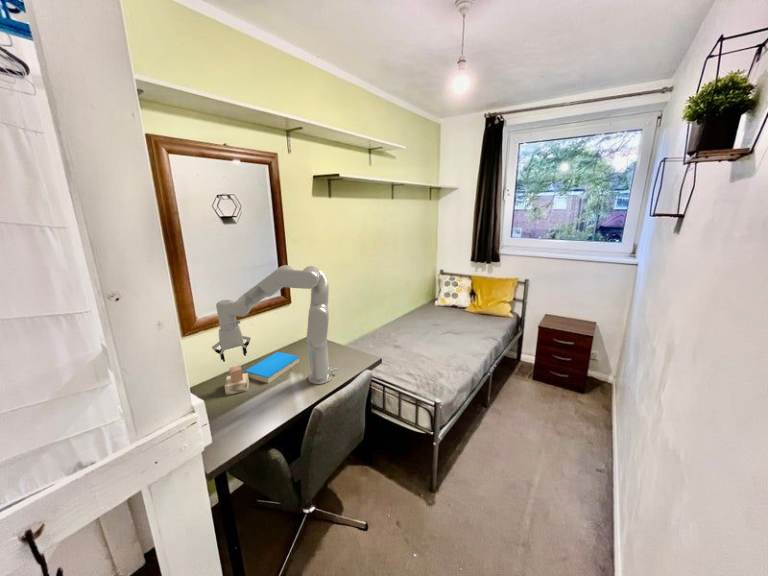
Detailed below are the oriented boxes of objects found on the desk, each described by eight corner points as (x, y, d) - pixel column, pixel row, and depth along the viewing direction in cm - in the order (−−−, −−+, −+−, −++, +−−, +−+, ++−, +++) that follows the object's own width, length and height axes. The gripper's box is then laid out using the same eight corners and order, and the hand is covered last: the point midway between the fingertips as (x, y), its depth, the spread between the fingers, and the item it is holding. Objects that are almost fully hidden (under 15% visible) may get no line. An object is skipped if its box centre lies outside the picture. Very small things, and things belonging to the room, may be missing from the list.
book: (299, 356, 187) (268, 376, 165) (300, 363, 189) (269, 384, 166) (276, 351, 194) (243, 370, 172) (277, 357, 195) (244, 377, 173)
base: (248, 381, 169) (247, 372, 168) (248, 391, 160) (246, 382, 159) (228, 384, 166) (226, 376, 165) (226, 395, 157) (224, 386, 156)
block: (241, 375, 165) (239, 365, 164) (243, 379, 161) (241, 369, 160) (230, 378, 163) (229, 367, 161) (232, 383, 159) (230, 372, 157)
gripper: (246, 319, 162) (251, 350, 166) (207, 327, 153) (214, 360, 157) (249, 323, 156) (254, 355, 160) (209, 332, 147) (216, 366, 151)
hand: (234, 357), depth 159 cm, fingers open, 9 cm apart
